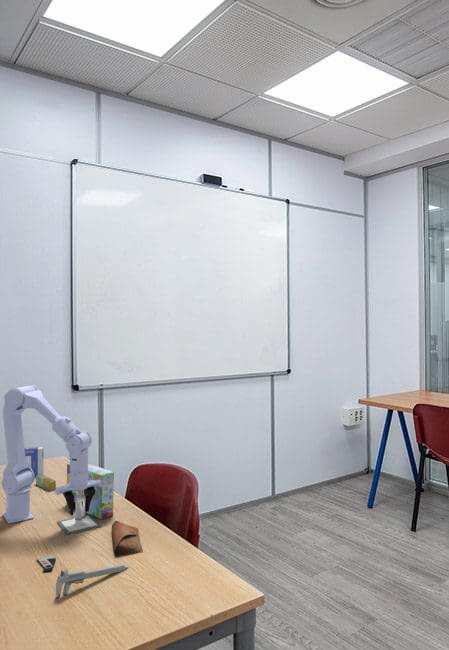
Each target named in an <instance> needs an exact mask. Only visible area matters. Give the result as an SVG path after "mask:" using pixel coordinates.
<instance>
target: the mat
mask: <svg viewBox="0 0 449 650" xmlns="http://www.w3.org/2000/svg"><path fill="white" fill-rule="evenodd" d="M56 524H57V525H58V526H59V528H61V530H62V532H64V533H65V535H73V534H76V533H83V532H85V531H88V530H89V531H90V530H95V529H98V528H101V527H102V525H101V524H100V523H99V522H98V521H97V520H96V519H95V518H94V516H92V515H90V514H85V523H84V524H82V525H75V524H74V517H72V518H67V519H64V520H63V519H62V520H59V521H56Z"/></svg>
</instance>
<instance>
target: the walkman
mask: <svg viewBox="0 0 449 650" xmlns="http://www.w3.org/2000/svg"><path fill="white" fill-rule="evenodd" d="M24 449H25V458H26V461H27V462H29V463H30V464H31V468H32V471H33V472H34V476H35V478H36V475H38V474H43V475H44V473H45V471H44V465H45V464H44V463H45V462H44V458H45V457H44V455H45V453H44V446H41V447H40V446H38V447H24Z"/></svg>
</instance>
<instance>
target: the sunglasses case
mask: <svg viewBox="0 0 449 650" xmlns="http://www.w3.org/2000/svg"><path fill="white" fill-rule="evenodd" d="M111 534H112V536H111V537H112V542H113V544H112V545H113V552H114V555H115V556H116V557H123V556H128V555H135V554H141V553H144V551H143V547H142V544H141V539H140V535H139V528H138V527H136V526H133V525H128V524H125V523H123V522H121V521H118V520H114V521H113V523H112V524H111Z"/></svg>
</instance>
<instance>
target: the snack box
mask: <svg viewBox="0 0 449 650" xmlns="http://www.w3.org/2000/svg"><path fill="white" fill-rule="evenodd" d="M99 479H100V480H101V481H102V487H94V489H95V490H96V491H95V494H94V496H93V498H92V500H91V503H90V507H89V511H88V512H86V511H85V514H87V515H91V516H92V517H95V518H97V519H99V520H103V519H106V518H109V517H113V516H114V491H115V490H114V489H115V488H114V487H115V486H114V485H115V484H114V483H115V472H114V471H112V470H109V469H106V468H102V467H99V466H96V465H93V464H89V463H88V481H89V480H99ZM69 483H70V462H69V463H67V464H66V484H69ZM72 493H73V495H74V496H75V495H78V494H80V495H81V494H82V495H84V489H83V490H78V491H72ZM66 505H67V506H68V504H67V503H66Z"/></svg>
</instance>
